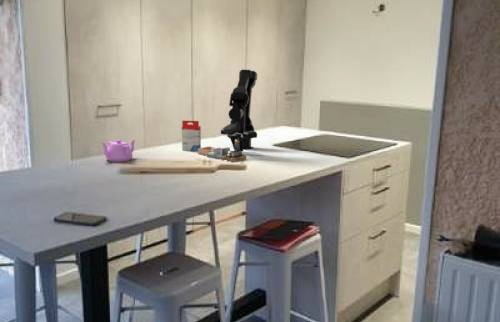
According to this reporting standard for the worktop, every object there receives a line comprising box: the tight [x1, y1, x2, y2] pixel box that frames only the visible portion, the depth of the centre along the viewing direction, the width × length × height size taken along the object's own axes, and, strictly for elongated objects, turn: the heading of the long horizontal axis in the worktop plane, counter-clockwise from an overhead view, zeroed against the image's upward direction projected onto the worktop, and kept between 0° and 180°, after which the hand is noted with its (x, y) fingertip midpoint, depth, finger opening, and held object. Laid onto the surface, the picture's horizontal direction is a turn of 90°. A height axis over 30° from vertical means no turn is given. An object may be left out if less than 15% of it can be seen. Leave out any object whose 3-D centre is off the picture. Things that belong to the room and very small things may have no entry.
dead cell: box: [233, 138, 240, 151], centre depth 251 cm, size 4×4×8 cm
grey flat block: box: [206, 146, 226, 160], centre depth 243 cm, size 10×9×4 cm
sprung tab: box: [220, 146, 231, 156], centre depth 242 cm, size 5×1×3 cm, turn 138°
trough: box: [221, 154, 247, 162], centre depth 238 cm, size 10×6×2 cm, turn 138°
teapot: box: [100, 138, 137, 163], centre depth 232 cm, size 12×14×9 cm
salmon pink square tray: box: [197, 146, 215, 157], centre depth 249 cm, size 7×7×3 cm
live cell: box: [226, 150, 243, 158], centre depth 238 cm, size 7×4×4 cm, turn 138°
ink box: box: [181, 120, 202, 152], centre depth 257 cm, size 8×5×15 cm, turn 84°
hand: (238, 150), depth 251 cm, fingers closed on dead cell, 4 cm apart
